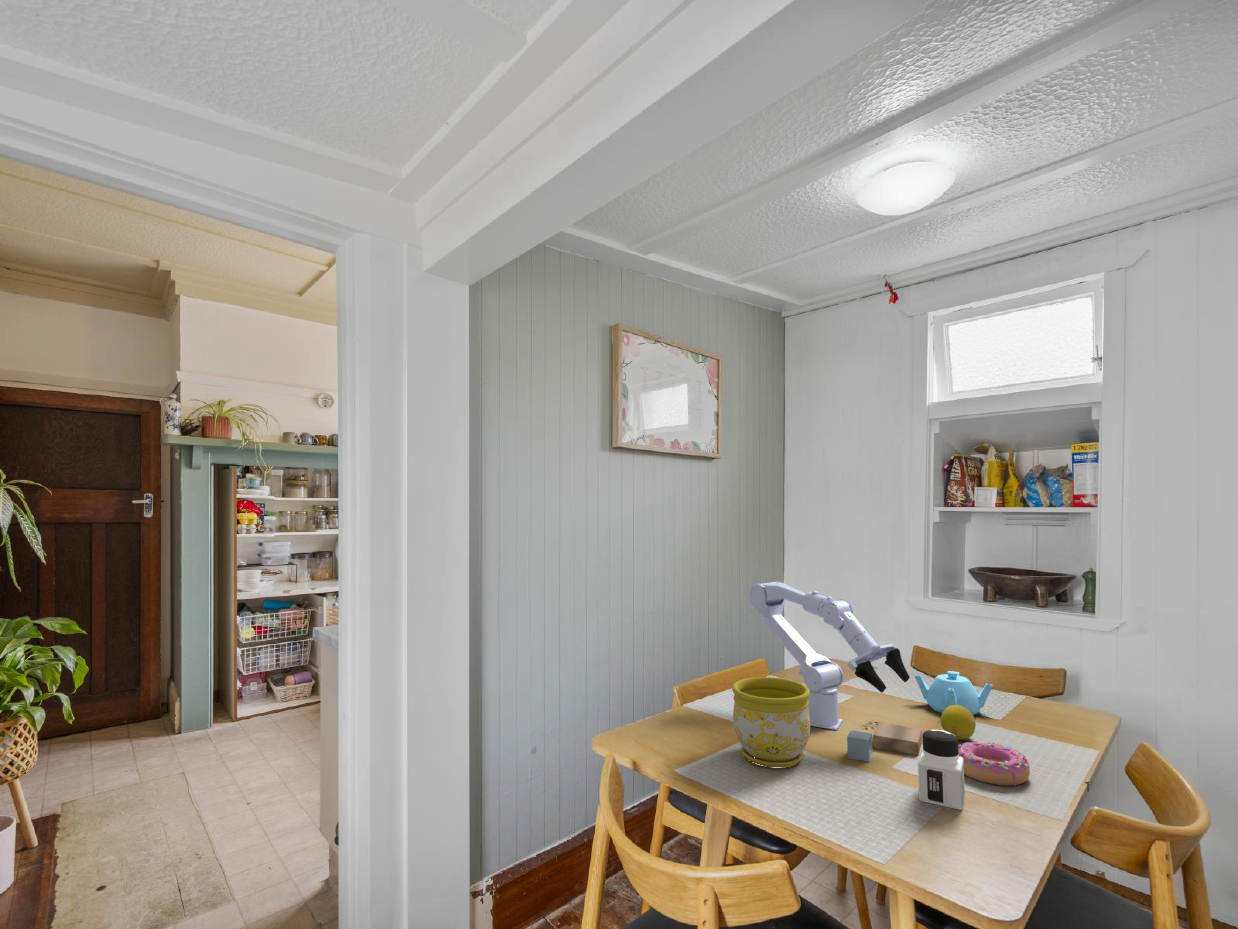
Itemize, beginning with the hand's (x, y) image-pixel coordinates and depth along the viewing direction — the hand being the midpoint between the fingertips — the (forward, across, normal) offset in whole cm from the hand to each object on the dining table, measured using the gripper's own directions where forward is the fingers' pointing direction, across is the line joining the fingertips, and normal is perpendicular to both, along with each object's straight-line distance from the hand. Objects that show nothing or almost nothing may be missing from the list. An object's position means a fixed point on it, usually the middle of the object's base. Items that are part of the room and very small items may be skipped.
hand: (895, 685), depth 153 cm
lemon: (+13, +17, +15) cm, 26 cm away
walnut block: (+9, 0, +14) cm, 16 cm away
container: (+25, -14, -5) cm, 29 cm away
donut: (+25, +6, +1) cm, 26 cm away
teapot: (+4, +33, +28) cm, 44 cm away
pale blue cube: (+8, -14, +10) cm, 19 cm away
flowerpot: (0, -33, +12) cm, 35 cm away
